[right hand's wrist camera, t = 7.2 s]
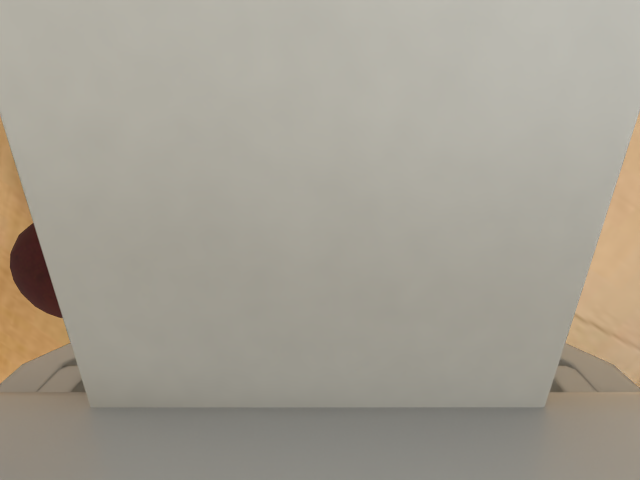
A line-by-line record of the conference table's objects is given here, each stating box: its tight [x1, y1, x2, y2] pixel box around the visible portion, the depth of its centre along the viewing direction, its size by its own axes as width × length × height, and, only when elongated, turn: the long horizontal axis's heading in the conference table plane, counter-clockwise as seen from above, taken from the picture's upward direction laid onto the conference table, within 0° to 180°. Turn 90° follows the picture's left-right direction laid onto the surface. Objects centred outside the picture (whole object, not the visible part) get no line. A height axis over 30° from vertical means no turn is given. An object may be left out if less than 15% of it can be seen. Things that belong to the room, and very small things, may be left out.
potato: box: [10, 223, 63, 318], centre depth 22 cm, size 7×8×7 cm
